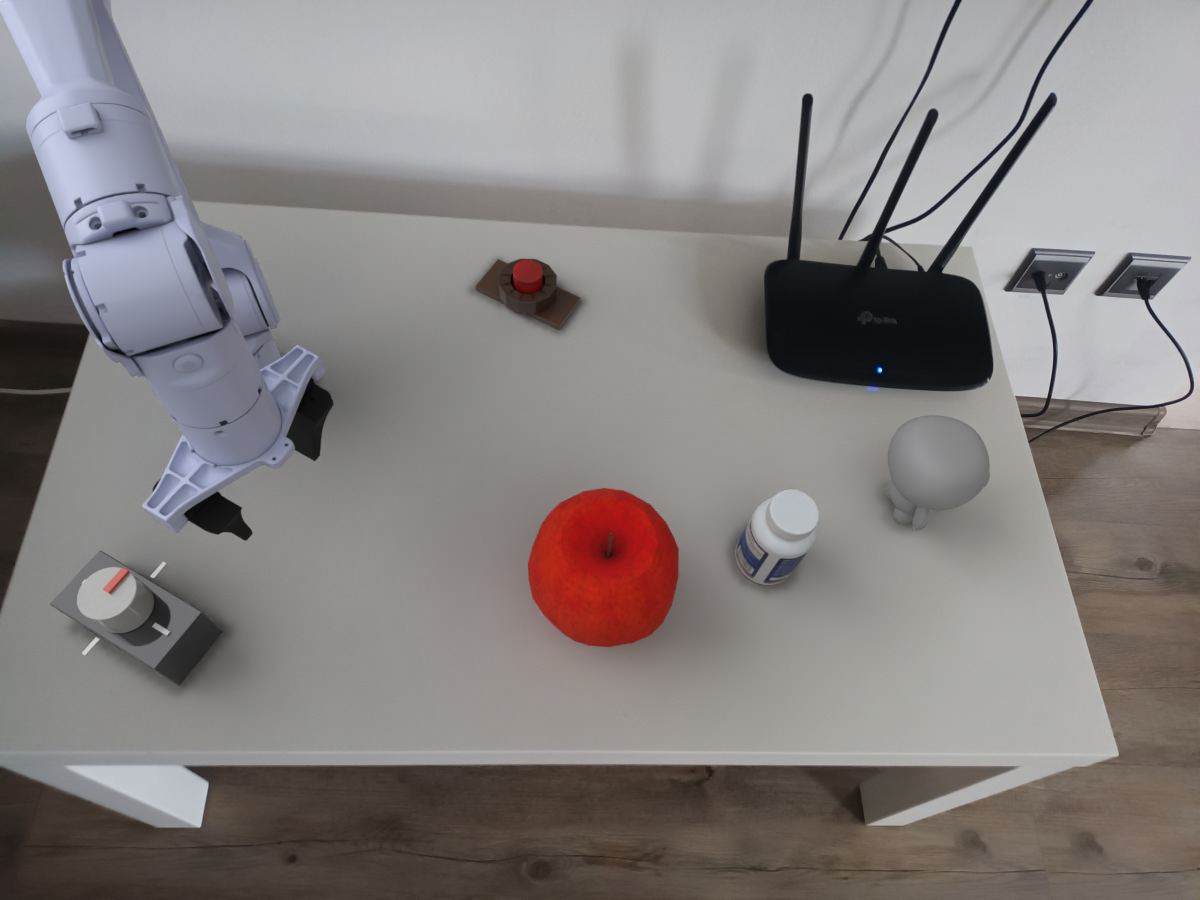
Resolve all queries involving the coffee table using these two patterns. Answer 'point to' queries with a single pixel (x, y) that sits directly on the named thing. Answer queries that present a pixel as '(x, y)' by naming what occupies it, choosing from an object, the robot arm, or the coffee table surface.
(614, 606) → the apple
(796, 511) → the pill bottle
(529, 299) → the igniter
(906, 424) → the figurine
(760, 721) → the coffee table surface
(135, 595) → the hob knob
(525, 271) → the button
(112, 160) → the robot arm
